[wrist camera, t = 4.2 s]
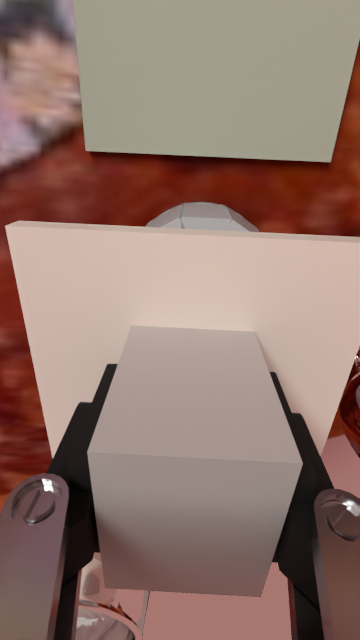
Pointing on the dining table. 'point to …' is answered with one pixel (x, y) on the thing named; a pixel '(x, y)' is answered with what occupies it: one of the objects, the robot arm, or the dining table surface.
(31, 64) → the dining table surface
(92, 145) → the mat
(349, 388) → the wineglass
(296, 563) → the robot arm
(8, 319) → the dining table surface
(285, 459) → the cover
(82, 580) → the beer glass
